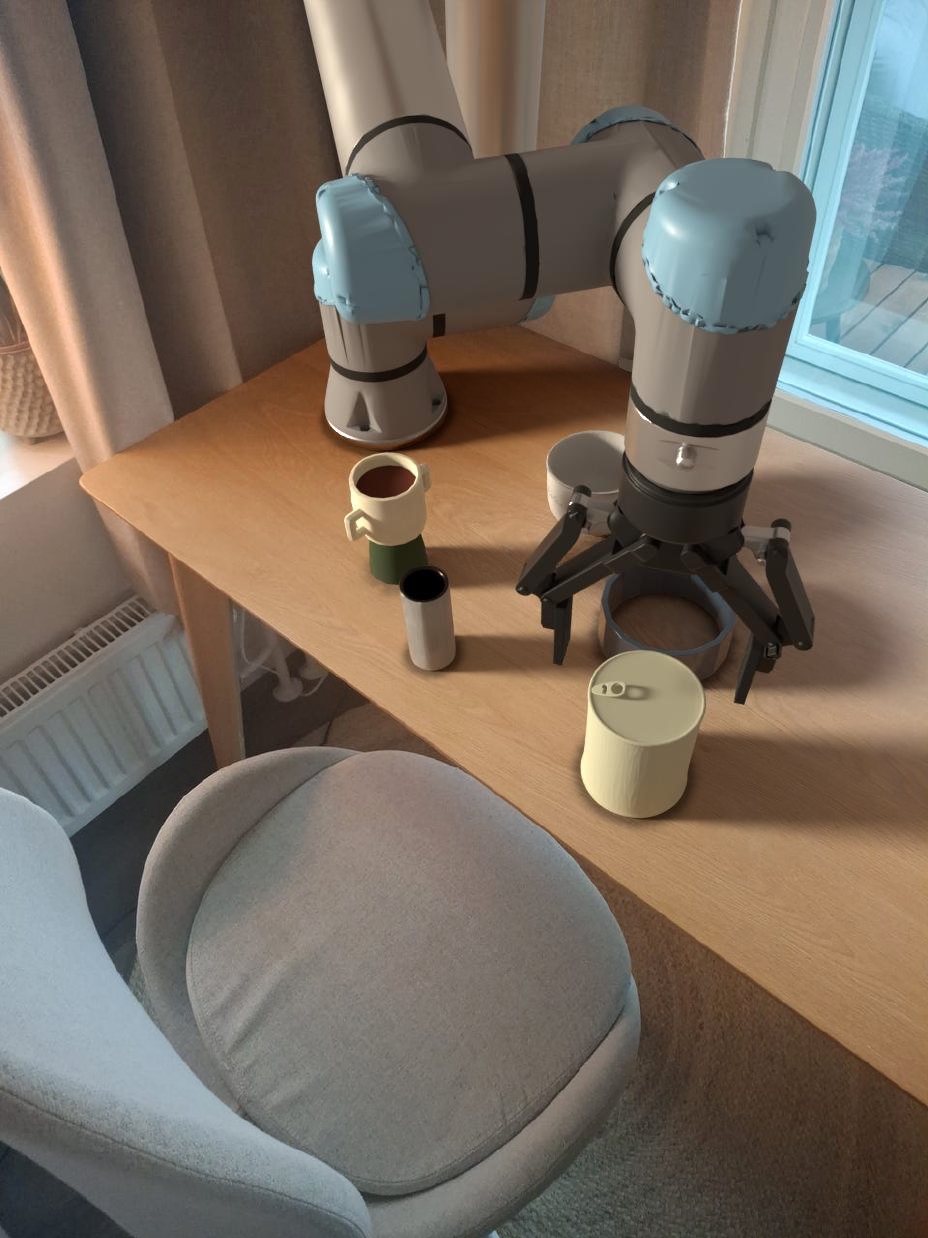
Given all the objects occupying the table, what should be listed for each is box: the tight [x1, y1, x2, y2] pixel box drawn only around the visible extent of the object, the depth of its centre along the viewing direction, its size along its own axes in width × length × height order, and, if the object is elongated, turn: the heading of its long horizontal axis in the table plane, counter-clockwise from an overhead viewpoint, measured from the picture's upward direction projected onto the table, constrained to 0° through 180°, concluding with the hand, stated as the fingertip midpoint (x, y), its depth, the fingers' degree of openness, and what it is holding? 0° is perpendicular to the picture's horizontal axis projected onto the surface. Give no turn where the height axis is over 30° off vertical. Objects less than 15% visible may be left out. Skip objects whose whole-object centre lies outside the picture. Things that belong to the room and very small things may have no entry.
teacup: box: [545, 429, 625, 537], centre depth 97 cm, size 14×11×8 cm
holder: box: [597, 564, 737, 682], centre depth 87 cm, size 12×12×5 cm
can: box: [580, 650, 707, 819], centre depth 75 cm, size 9×9×12 cm
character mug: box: [344, 451, 432, 586], centre depth 92 cm, size 11×7×13 cm, turn 135°
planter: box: [398, 564, 457, 671], centre depth 85 cm, size 4×4×10 cm
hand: (649, 670), depth 69 cm, fingers open, 13 cm apart
